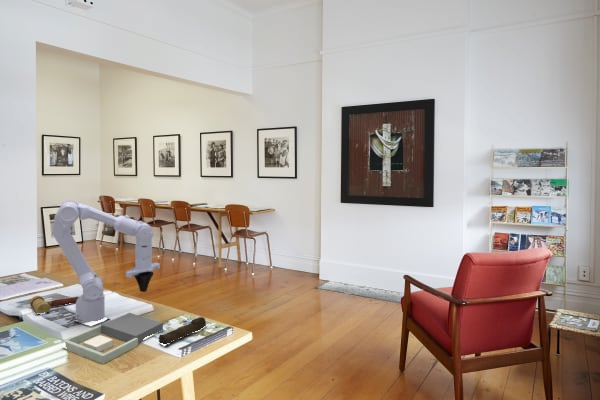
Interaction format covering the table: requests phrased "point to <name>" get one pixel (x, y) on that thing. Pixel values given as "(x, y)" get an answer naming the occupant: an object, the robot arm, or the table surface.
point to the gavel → (49, 303)
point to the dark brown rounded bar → (183, 330)
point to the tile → (99, 343)
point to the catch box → (92, 354)
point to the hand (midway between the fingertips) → (143, 291)
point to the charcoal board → (131, 327)
